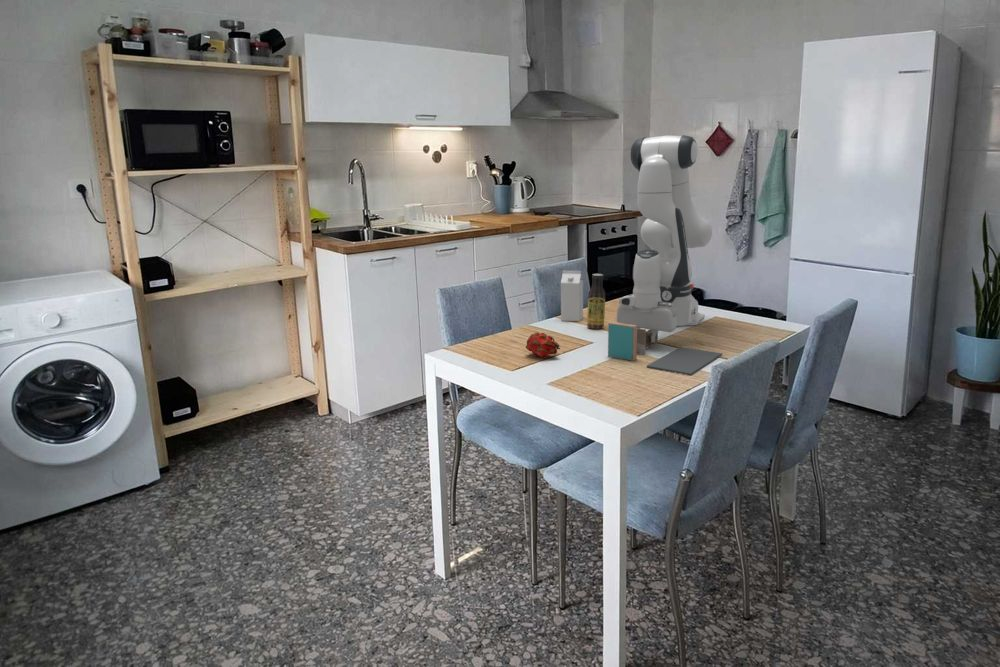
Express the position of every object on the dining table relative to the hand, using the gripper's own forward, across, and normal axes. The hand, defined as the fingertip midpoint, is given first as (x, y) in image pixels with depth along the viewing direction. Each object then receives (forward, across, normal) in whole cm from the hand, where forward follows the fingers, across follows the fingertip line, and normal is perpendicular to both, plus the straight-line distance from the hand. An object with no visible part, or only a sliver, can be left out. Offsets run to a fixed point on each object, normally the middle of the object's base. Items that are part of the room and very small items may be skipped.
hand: (645, 341), depth 234 cm
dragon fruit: (+2, +22, +28) cm, 36 cm away
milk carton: (+2, +40, -18) cm, 44 cm away
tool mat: (+2, -18, +9) cm, 20 cm away
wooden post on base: (+2, 0, +1) cm, 2 cm away
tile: (+2, 0, +16) cm, 16 cm away
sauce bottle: (+2, +26, -12) cm, 29 cm away
